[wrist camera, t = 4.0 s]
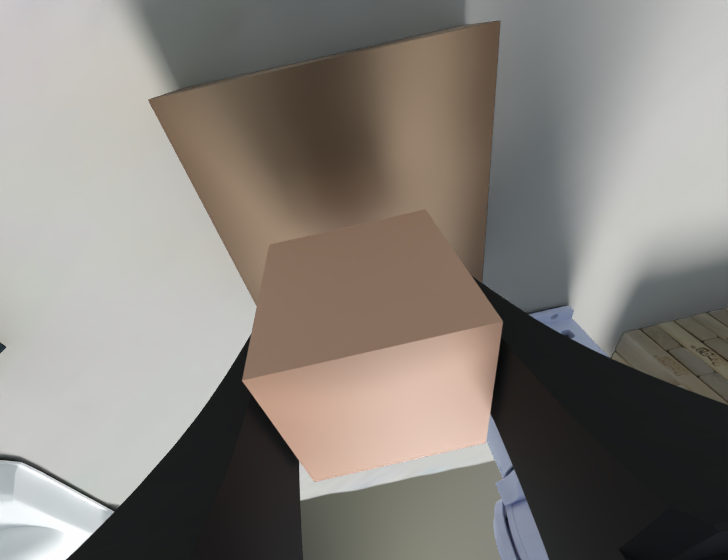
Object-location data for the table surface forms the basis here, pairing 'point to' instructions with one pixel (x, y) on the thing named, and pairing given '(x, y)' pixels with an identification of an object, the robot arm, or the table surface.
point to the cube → (372, 346)
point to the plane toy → (43, 515)
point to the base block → (344, 143)
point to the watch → (2, 347)
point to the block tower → (682, 353)
